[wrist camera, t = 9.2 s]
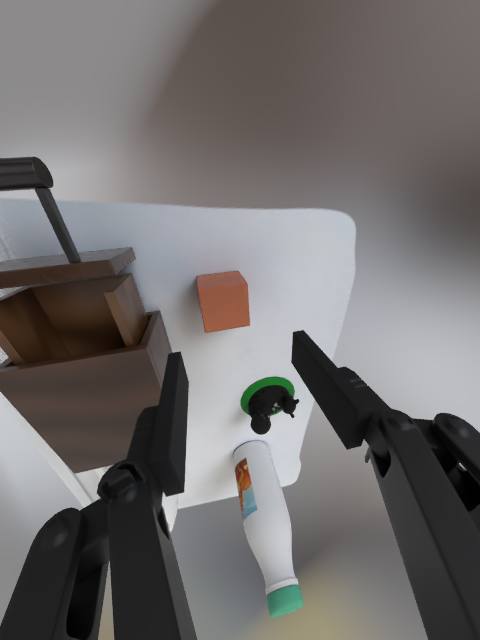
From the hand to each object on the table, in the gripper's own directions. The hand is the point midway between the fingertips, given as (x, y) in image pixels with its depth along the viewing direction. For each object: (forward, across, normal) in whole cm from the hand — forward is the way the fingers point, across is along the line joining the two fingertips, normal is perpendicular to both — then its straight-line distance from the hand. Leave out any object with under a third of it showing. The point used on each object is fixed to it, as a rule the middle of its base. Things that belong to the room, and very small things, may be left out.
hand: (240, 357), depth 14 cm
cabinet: (+13, -14, -9) cm, 21 cm away
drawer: (+12, -14, +2) cm, 19 cm away
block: (+13, 0, 0) cm, 13 cm away
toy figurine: (+13, +6, -21) cm, 26 cm away
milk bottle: (+13, +2, -36) cm, 38 cm away
